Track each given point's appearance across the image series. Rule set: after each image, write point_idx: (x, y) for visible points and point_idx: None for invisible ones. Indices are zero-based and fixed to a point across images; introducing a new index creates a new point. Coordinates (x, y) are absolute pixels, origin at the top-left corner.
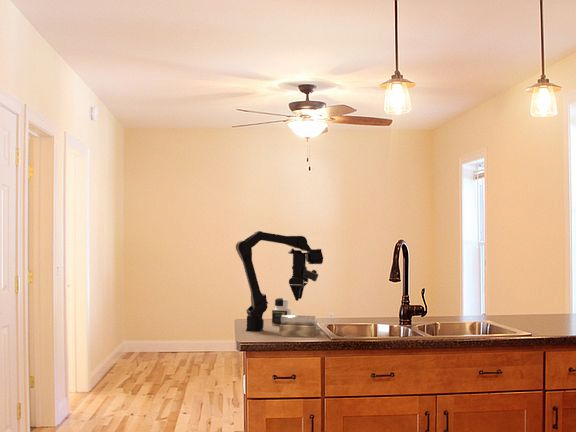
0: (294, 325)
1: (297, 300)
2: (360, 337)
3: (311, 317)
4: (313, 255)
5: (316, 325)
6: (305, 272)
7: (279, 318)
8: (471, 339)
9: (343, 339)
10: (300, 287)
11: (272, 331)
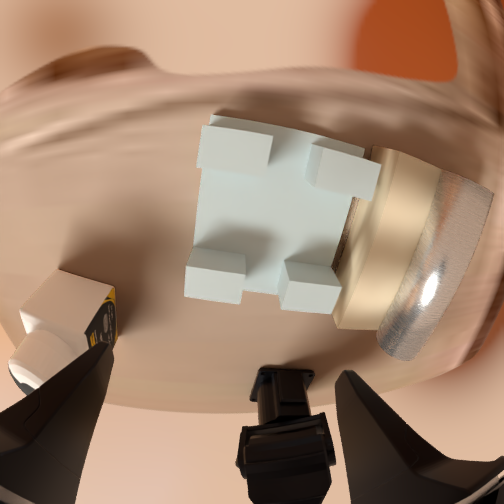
0: None
1: (350, 375)
2: (458, 7)
3: (488, 211)
4: None
5: (217, 126)
6: None
7: (105, 334)
8: None
9: (500, 87)
10: (460, 468)
11: (311, 337)
